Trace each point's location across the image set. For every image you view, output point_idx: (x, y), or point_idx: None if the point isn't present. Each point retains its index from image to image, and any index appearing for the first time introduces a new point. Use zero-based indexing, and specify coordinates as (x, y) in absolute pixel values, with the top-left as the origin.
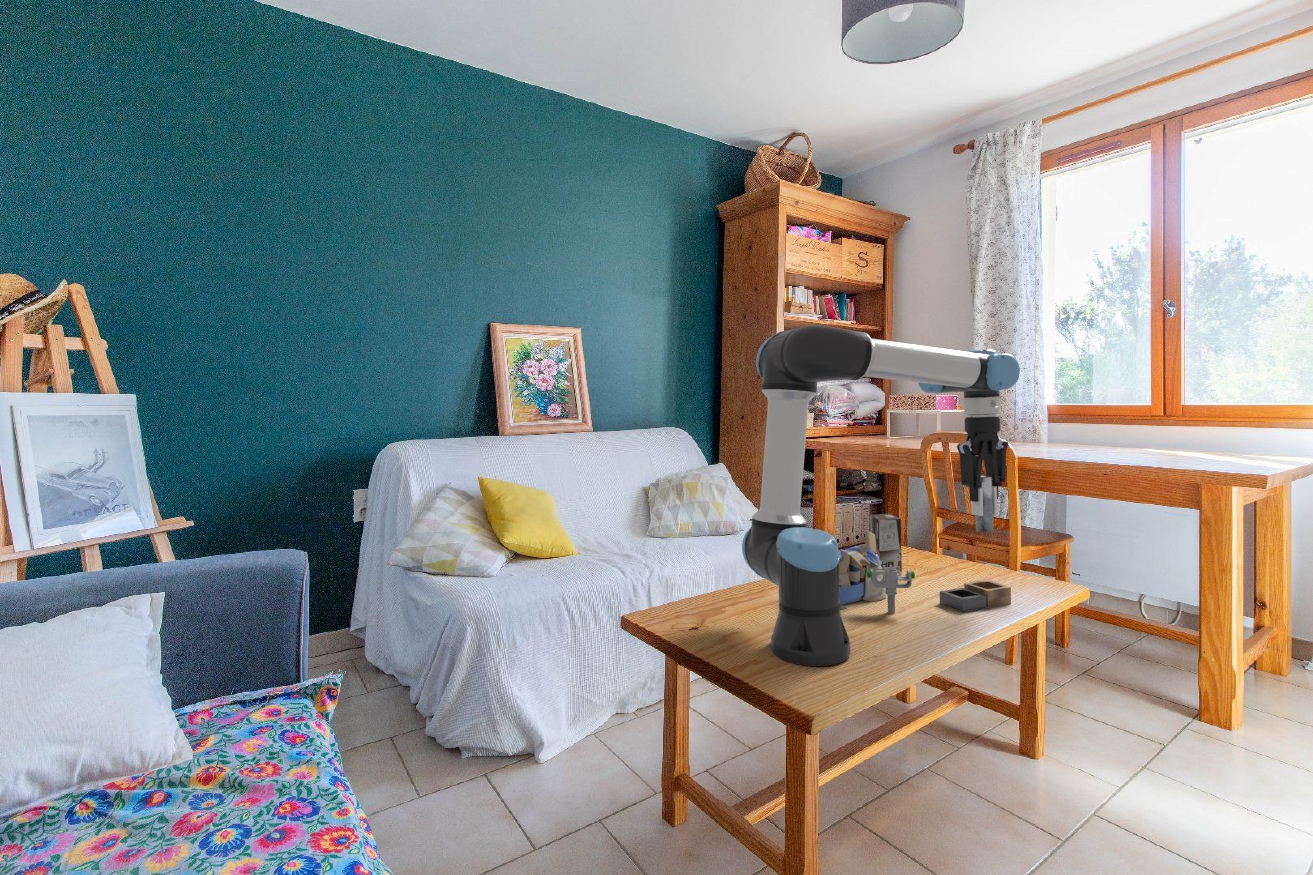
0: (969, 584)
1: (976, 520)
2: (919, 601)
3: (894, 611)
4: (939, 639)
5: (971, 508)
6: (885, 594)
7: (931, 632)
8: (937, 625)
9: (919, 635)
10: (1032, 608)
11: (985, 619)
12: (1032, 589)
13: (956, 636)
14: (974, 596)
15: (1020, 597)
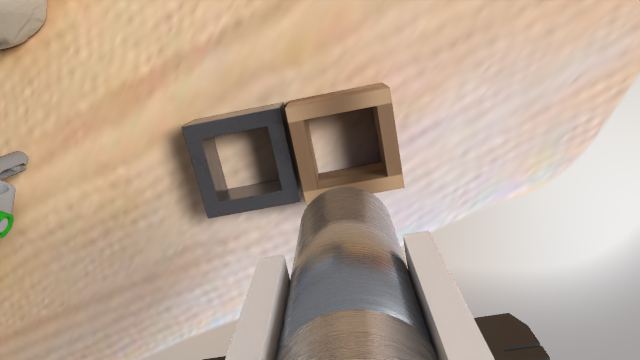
0: (294, 125)
1: (296, 248)
2: (143, 81)
3: (22, 170)
4: (71, 345)
5: (251, 283)
6: (34, 25)
7: (71, 307)
8: (105, 272)
9: (36, 317)
10: (422, 219)
11: (244, 263)
12: (576, 55)
13: (116, 339)
14: (259, 201)
15: (469, 124)
